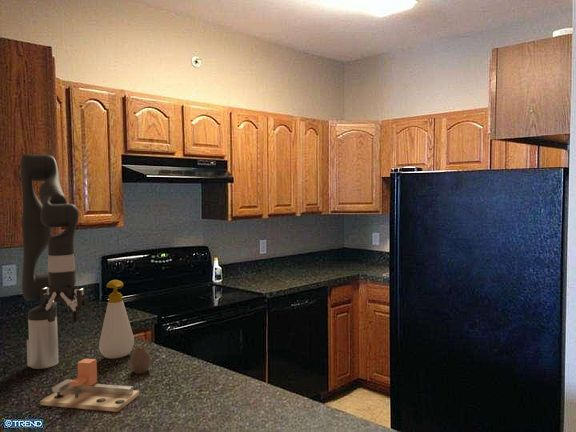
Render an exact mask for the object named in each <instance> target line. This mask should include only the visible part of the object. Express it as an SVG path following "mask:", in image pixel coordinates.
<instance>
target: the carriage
mask: <svg viewBox="0 0 576 432" xmlns="http://www.w3.org/2000/svg"><path fill="white" fill-rule="evenodd" d="M97 363H98V362H97V358H83V359H82V360H79V361H78V362H77V377H75V378H74V379H71V380H72V381H71V382H70V386H75V398H77V397H78V386H79V385H80V386H91V385H93V384H97V383H98V371H97V367H98V366H97Z"/></svg>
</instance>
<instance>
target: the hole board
mask: <svg viewBox="0 0 576 432" xmlns="http://www.w3.org/2000/svg"><path fill="white" fill-rule="evenodd" d="M140 394H141V393H140V390H138V389H137V390H134V389H133V394H131V395H130V396H126V395H114V394H102V393H89V392H78V397H77V398H75V391H64V390H62V391H60V397H57V392H53V393H51V394H49V395H48V396H46V397H44V398H43V399H41V400H40V401H39V405H40V406H48V407H59V408H60V407H61V408H69V409H70V408H71V409H72V408H73V409H82V410H92V411H93V410H95V411H104V412H105V411H106V412H114V413H115V412H116V413H118V412H120V411H121V410H122V409H124V408H125V407H126V406H127V405H128V404H130V403H131V402H132V401H134V400H135V399H136V398H137V397H138V396H140Z"/></svg>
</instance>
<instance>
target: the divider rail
mask: <svg viewBox="0 0 576 432" xmlns="http://www.w3.org/2000/svg"><path fill="white" fill-rule="evenodd" d="M72 380H73V379H69V378H67V379H64V380H63V381H61V382H59V383H57V384H55V385H54V386H53V387H51V389H52V390H51V391H52V392H53V393H54V392H57V397H60V391H62V390H64V391H75V386H70V382H71V381H72ZM133 390H134V386H131V385H118V384H116V385H115V384H103V383H94V384H93V385H91V386H80V385H79V386H78V392H89V393H102V394H114V395H126V396H130V395H131V394H133Z"/></svg>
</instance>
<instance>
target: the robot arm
mask: <svg viewBox="0 0 576 432" xmlns="http://www.w3.org/2000/svg"><path fill="white" fill-rule="evenodd" d="M19 166H20V182H21V195H22V216H21V218H22V219H21V220H22V222H21V223H22V224H21V225H22V226H21V227H22V230H21V231H22V249H23V253H22V254H23V255H22V256H23V258H22V259H23V261H22V276H21V278H22V280H21V289H22V290H21V291H22V292H21V293H22V295H23V298H24V300H26V301H35V300H40V301H39V303H40V304H39V305H38V306H35V307H33V308H31V309H30V310H28V312H27V319H28V322H27V323H28V339H27V340H26V359H27V360H26V361H27V367H29V368H31V369H33V370H34V369H35V370H40V369H47V368H52V367H55V366H56V365H58V364H59V340H58V339H59V338H58V334H59V333H58V304H59V303H61V304H66V305H67V306H69V307H70V309H71V310H72V311H71V321H72V324H78V323H79V321H80V320H81V312H80V311H81V310H82V309H85V308H86V306H87V304H86V303H87V302H86V299H87V298H86V289H85V288H77V287H76V286H75V285H76V261H75V254H74V250H75V249H74V248H75V247H74V238H75V233H76V228H77V224H78V221H79V218H80V212H79V208H78V207H77V206H76V205H75V204H74V203H67V198H66V195H65V194H64V193H65V192H64V191H63V188H62V185H61V179H60V172H59V168H58V163H57V161H56V159H55V157H54V156H53V155H49V154H35V153H33V154H32V153H31V154H30V153H28V154H23V155H22V156H21V158H20V165H19ZM33 182H43V183H42V184H41V186H40V188H39V190H38V195H37V194H36V192H35V189H34V186H33V185H34V184H33ZM53 228H64V230H63V231H62V232H61V233H58V234H55V235H54V234H53ZM46 248H47V250H48V251H47V252H48V254H47V255H48V258H47V271H46V272H40V273H39V272H38V273H35V270H36V265H37V263H38V260H39V258H40V257H41V255H42V254H43V252H44V251H45V250H46Z"/></svg>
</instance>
